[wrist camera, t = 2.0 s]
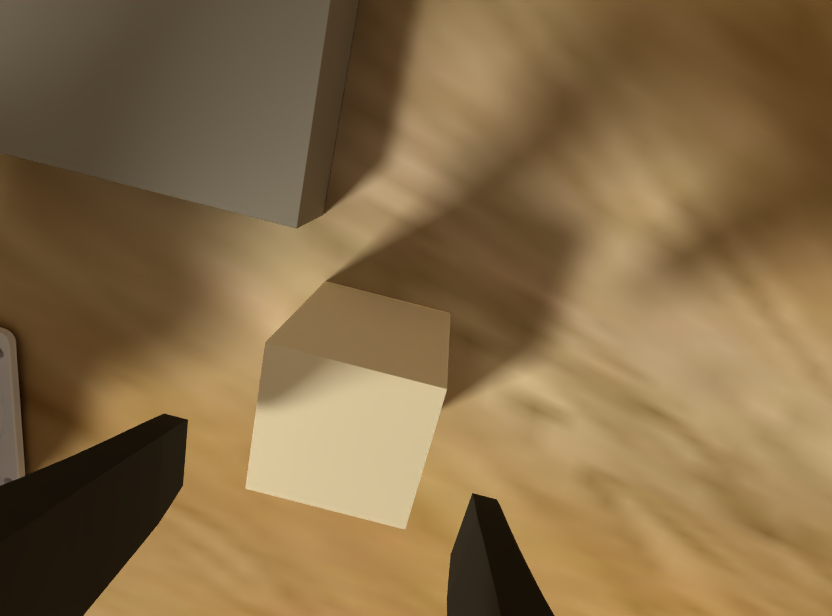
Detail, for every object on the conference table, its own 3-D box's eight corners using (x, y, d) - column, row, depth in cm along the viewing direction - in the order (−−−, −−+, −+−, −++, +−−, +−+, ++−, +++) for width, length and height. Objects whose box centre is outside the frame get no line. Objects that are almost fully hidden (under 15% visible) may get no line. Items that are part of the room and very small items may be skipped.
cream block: (420, 419, 20) (404, 529, 14) (306, 390, 20) (245, 488, 14) (450, 312, 18) (447, 389, 12) (326, 280, 18) (265, 342, 12)
